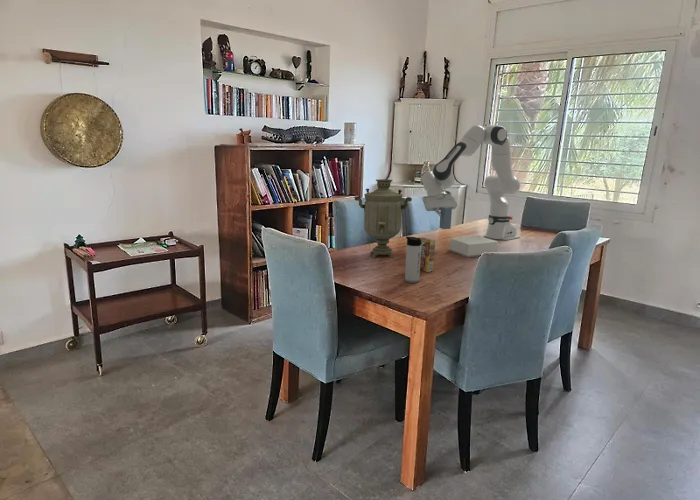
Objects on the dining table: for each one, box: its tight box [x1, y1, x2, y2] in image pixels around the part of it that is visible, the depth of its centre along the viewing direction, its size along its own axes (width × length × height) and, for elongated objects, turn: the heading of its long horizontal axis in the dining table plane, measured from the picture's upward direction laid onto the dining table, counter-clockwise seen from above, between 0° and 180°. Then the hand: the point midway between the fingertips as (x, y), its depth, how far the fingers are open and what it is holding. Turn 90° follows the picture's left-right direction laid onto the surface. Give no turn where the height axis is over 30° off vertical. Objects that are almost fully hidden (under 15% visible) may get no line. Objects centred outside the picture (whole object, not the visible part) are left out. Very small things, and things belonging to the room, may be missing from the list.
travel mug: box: [404, 236, 421, 284], centre depth 201 cm, size 6×7×20 cm
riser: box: [448, 235, 499, 259], centre depth 255 cm, size 21×17×7 cm
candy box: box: [417, 236, 436, 273], centre depth 219 cm, size 9×4×15 cm, turn 39°
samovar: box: [354, 178, 413, 259], centre depth 239 cm, size 30×26×40 cm
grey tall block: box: [438, 207, 453, 230], centre depth 260 cm, size 4×4×12 cm
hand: (445, 215), depth 260 cm, fingers closed on grey tall block, 4 cm apart
